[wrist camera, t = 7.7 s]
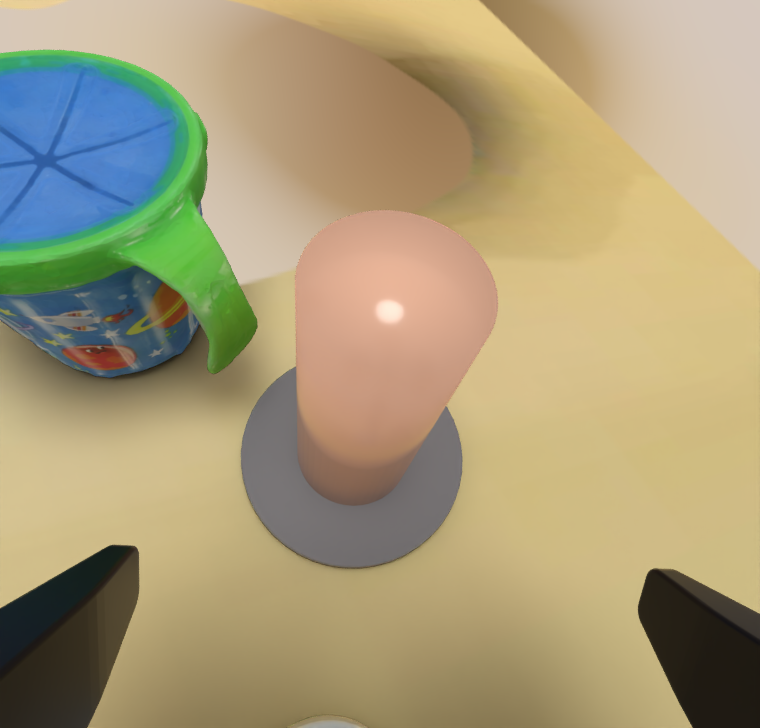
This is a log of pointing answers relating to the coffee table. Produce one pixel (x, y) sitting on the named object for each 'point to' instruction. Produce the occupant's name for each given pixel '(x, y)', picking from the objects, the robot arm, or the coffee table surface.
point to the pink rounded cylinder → (382, 345)
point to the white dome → (327, 722)
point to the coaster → (337, 521)
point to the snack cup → (108, 218)
